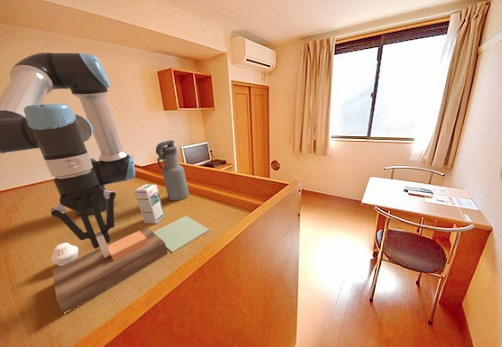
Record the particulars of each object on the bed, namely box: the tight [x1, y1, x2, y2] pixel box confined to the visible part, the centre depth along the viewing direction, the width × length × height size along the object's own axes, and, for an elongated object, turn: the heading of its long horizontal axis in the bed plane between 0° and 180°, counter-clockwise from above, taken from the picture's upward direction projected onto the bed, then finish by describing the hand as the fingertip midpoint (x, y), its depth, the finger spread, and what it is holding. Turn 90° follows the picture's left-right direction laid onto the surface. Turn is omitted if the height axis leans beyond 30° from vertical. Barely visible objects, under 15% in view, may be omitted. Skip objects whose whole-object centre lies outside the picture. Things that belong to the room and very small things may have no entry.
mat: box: [152, 215, 210, 253], centre depth 70 cm, size 16×14×1 cm
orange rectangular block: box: [107, 230, 148, 261], centre depth 57 cm, size 6×9×2 cm, turn 137°
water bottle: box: [155, 140, 189, 202], centre depth 95 cm, size 10×10×28 cm
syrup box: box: [134, 183, 166, 224], centre depth 77 cm, size 6×6×14 cm
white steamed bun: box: [50, 242, 79, 267], centre depth 58 cm, size 6×6×7 cm
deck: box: [51, 226, 169, 313], centre depth 56 cm, size 14×24×4 cm, turn 138°
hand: (106, 254), depth 54 cm, fingers closed
